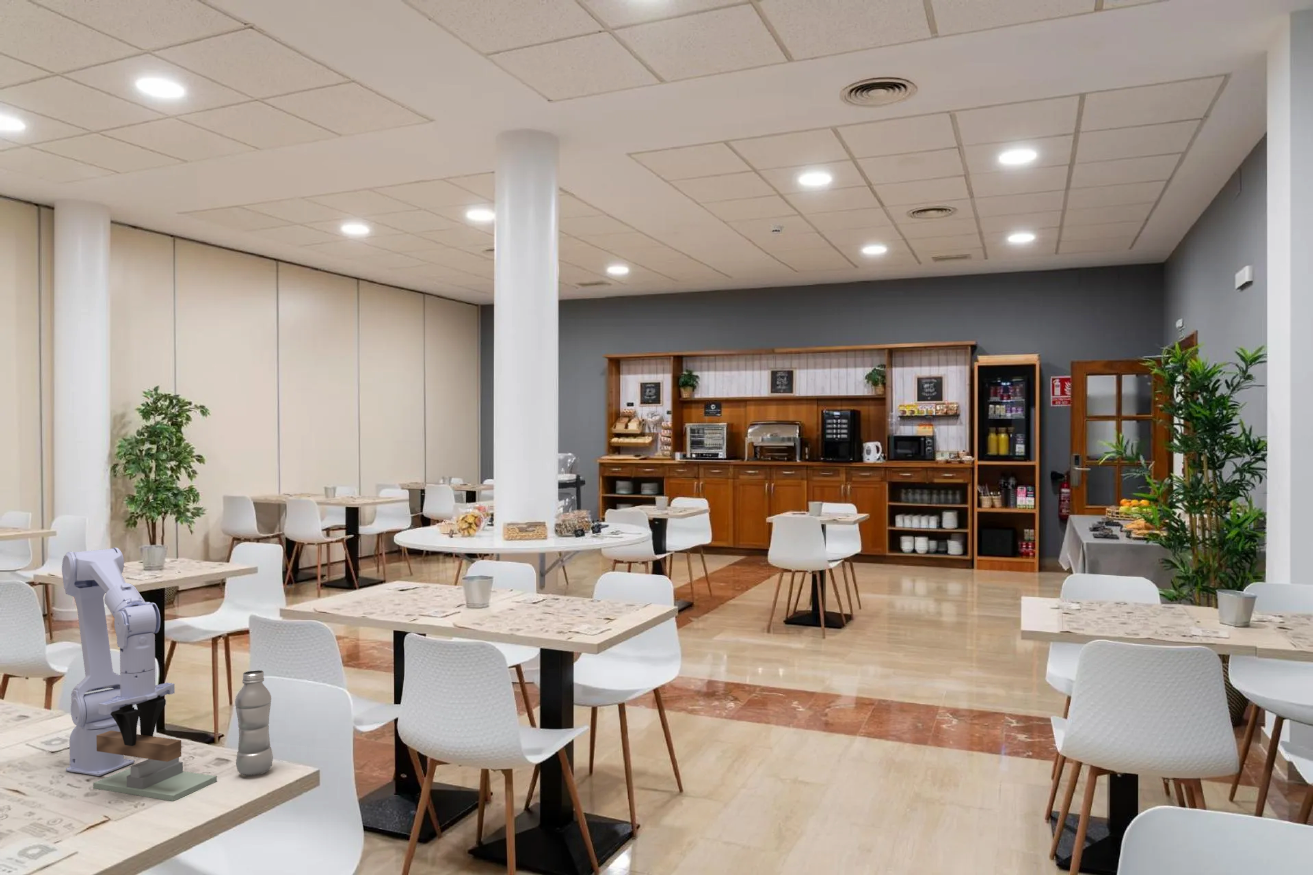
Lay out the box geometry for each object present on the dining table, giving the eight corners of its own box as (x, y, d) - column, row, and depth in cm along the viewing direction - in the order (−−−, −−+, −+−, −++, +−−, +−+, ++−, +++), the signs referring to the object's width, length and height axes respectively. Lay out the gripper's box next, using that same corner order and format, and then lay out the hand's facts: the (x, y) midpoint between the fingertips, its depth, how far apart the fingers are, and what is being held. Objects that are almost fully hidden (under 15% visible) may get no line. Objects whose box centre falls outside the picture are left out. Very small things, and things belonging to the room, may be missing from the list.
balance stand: (93, 787, 171) (92, 761, 171) (139, 769, 181) (138, 744, 181) (173, 800, 165) (172, 773, 165) (216, 781, 174) (216, 755, 174)
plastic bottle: (271, 777, 176) (269, 674, 176) (233, 781, 174) (232, 677, 174) (275, 765, 182) (273, 666, 182) (238, 769, 180) (237, 669, 180)
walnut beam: (96, 751, 171) (96, 735, 171) (111, 745, 174) (110, 730, 174) (167, 761, 165) (167, 745, 165) (181, 756, 168) (181, 740, 168)
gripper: (118, 681, 161) (119, 757, 161) (186, 662, 175) (186, 731, 175) (90, 677, 164) (90, 752, 164) (159, 659, 177) (159, 728, 177)
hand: (138, 741), depth 170 cm, fingers closed on walnut beam, 3 cm apart
